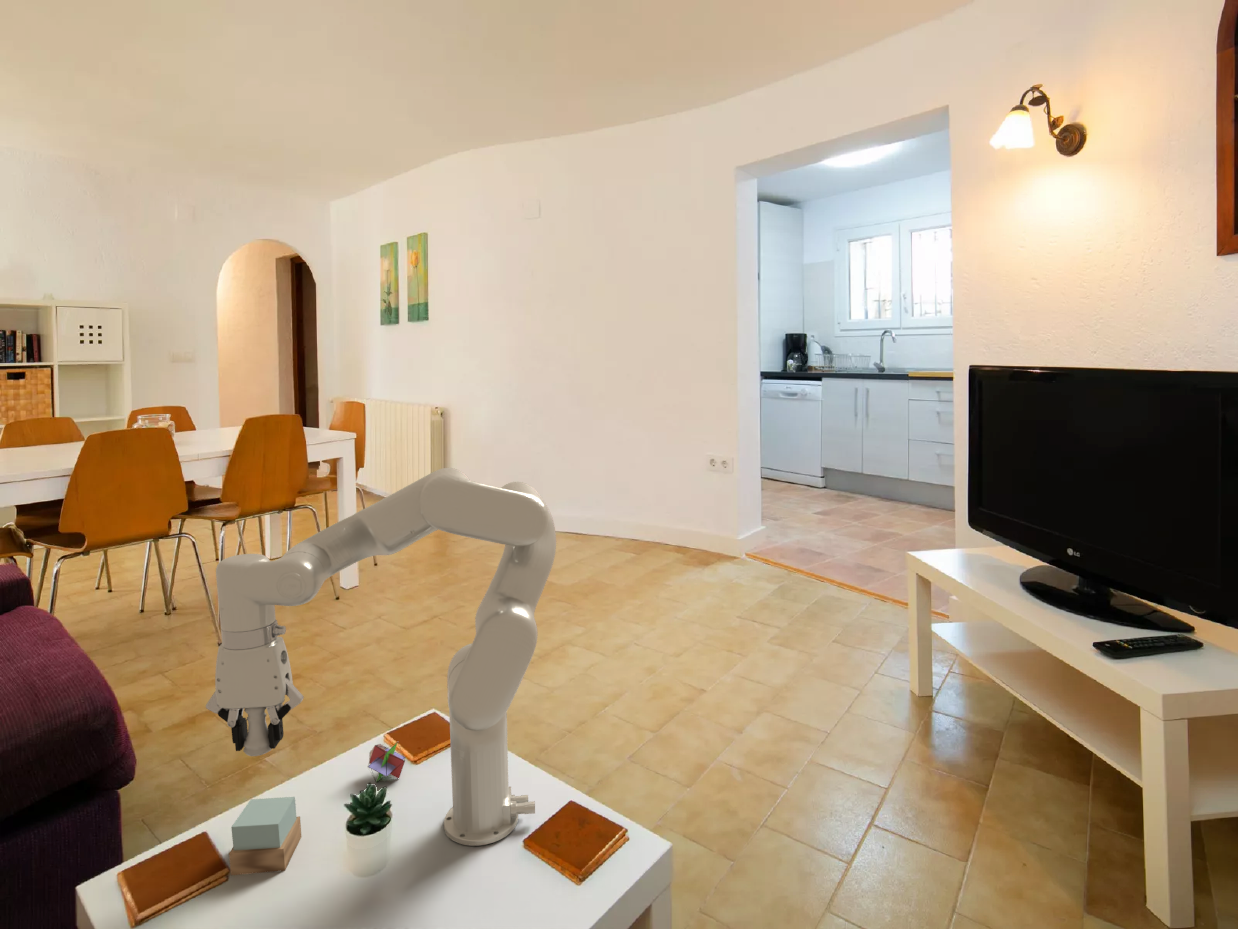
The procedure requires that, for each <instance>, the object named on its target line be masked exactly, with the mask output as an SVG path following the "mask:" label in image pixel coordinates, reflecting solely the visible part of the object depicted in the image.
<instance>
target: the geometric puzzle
mask: <svg viewBox="0 0 1238 929" xmlns="http://www.w3.org/2000/svg"><path fill="white" fill-rule="evenodd" d="M397 746H399V750H400V751H402V748H401V746H400V743H399V741H395V742H392V745H391V744H390V746H388V747H386V746H385V745H384V744H381V743H378V744H374V746H373V747H372V748H371V750H370V751H369V756H368V758H369V760H368V765H367V768H368V769H371V770H369V771H370V773H371V776H372V777H373V779H374V780H375V783H379V782H381V783H382V782H383V780H384V779H385V778H388V777H389V778H391V779H393V777H394V778H395V780H399V779H400V777H401V774H402V771H403V768H404V765H405V763H406V757H405V755H404V753H402V754H400V753H398V752H396V748H397ZM390 747H391V748H390ZM371 771H372V772H371ZM373 771H375V772H377V773H378V775H377V778H375V776H374V772H373ZM389 775H391V776H393V777H391V776H389ZM383 776H384V777H383ZM398 778H399V779H398ZM387 781H389V780H386V782H387Z"/></svg>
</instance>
